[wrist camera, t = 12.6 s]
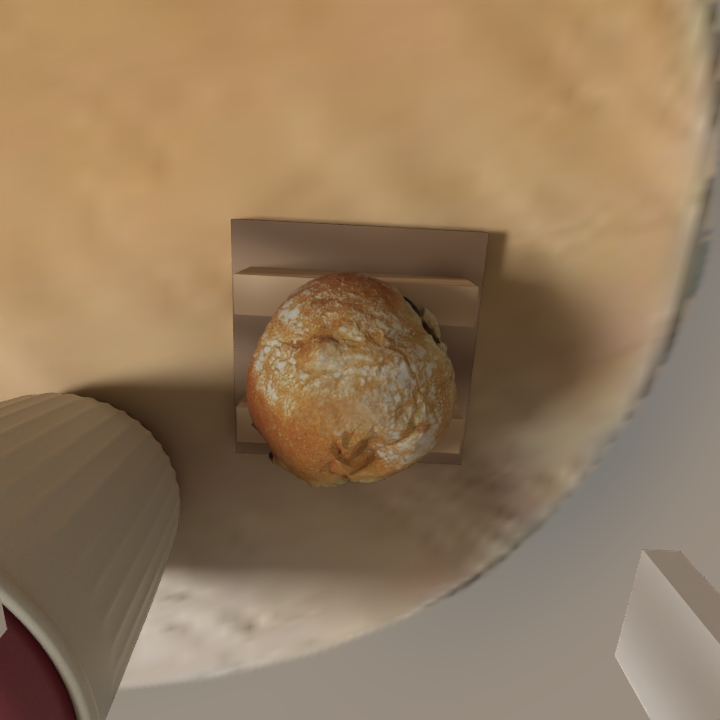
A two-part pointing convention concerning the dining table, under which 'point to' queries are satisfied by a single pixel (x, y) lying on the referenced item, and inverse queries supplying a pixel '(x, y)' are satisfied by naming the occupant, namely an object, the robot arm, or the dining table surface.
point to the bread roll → (350, 381)
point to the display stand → (368, 256)
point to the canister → (77, 551)
